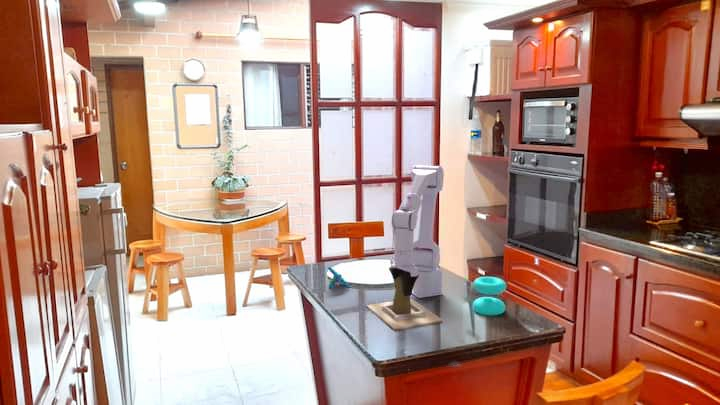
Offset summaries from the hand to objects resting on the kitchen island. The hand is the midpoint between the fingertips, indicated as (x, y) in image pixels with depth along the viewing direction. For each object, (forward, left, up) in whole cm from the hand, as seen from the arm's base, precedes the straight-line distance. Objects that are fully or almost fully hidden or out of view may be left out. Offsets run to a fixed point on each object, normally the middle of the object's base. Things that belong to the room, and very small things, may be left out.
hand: (403, 292), depth 160 cm
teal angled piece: (+9, -32, -7) cm, 34 cm away
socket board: (0, 0, -7) cm, 7 cm away
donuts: (-26, +8, -7) cm, 28 cm away
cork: (+1, 0, -6) cm, 6 cm away
